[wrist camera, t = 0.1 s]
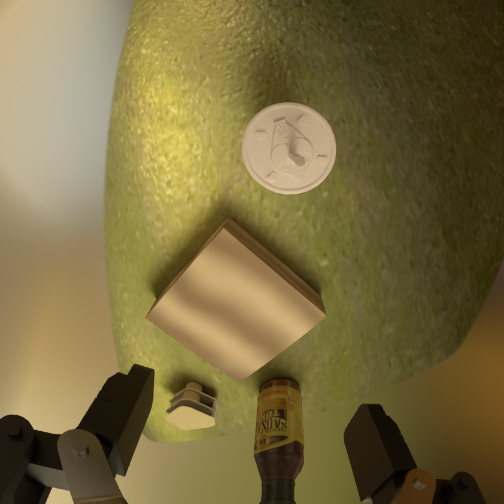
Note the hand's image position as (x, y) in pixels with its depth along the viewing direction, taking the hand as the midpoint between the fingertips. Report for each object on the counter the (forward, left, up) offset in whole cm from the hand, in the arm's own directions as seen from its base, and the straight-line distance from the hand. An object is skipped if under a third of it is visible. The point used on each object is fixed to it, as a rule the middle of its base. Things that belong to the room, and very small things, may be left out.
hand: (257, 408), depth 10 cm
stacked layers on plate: (+27, +11, -23) cm, 37 cm away
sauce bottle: (+17, +19, -23) cm, 34 cm away
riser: (+9, +4, -22) cm, 24 cm away
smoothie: (-7, -4, -23) cm, 24 cm away
